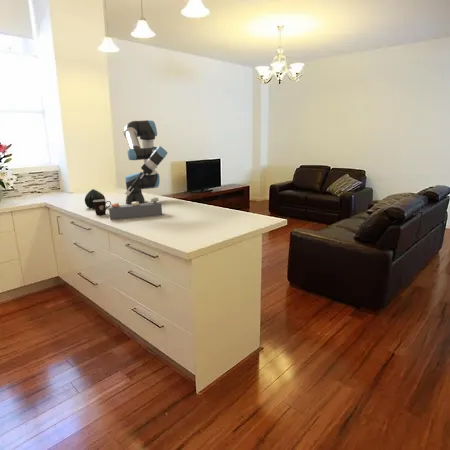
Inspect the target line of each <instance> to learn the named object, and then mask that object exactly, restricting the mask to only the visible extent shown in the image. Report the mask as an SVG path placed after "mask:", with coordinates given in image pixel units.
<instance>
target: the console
mask: <svg viewBox="0 0 450 450" xmlns="http://www.w3.org/2000/svg"><path fill="white" fill-rule="evenodd" d="M108 211H109V219H110V221H115V220H116V221H117V220H128V218H129V219H136V218H137V219H138V218H139V219H140V218H148V217H149V218H150V217H158V216H159V217H161V216H163V207H162V202H161V201H157V204H153V202H144V203H140V204H139V205H136V206H132V204H121V205H120V204H119V207H112V205H110V207H109V208H108Z"/></svg>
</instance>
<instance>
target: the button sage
mask: <svg viewBox="0 0 450 450" xmlns="http://www.w3.org/2000/svg"><path fill="white" fill-rule="evenodd" d="M150 201H151V203H153V204H157V202H159V197H152V198H150Z"/></svg>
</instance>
